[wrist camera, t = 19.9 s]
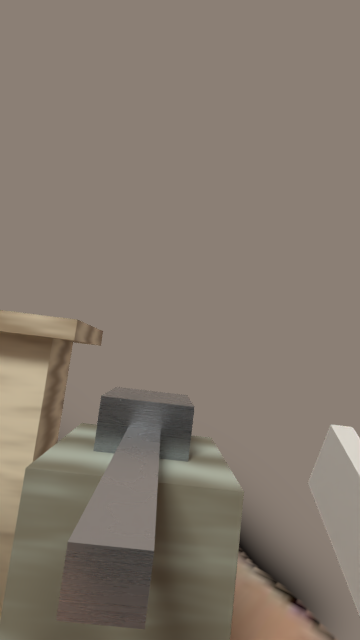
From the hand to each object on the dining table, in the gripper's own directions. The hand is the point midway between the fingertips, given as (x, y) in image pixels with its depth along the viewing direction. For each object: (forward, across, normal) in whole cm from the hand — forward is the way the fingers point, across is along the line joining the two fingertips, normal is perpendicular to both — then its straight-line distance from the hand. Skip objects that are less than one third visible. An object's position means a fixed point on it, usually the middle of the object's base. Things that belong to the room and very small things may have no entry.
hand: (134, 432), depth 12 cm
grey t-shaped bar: (+6, 0, -9) cm, 11 cm away
